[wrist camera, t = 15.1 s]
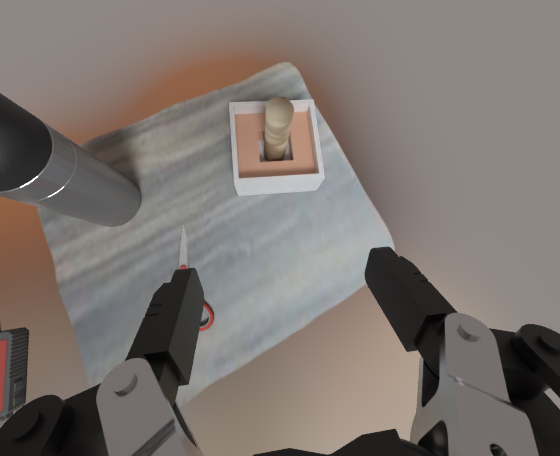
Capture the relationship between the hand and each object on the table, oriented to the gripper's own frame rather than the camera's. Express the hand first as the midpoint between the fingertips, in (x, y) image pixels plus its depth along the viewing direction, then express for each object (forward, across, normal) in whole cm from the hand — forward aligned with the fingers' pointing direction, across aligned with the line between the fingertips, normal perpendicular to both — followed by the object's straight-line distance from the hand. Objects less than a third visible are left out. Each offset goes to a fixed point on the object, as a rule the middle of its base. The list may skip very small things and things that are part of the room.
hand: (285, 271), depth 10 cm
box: (+37, -3, +5) cm, 37 cm away
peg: (+36, -3, +5) cm, 36 cm away
